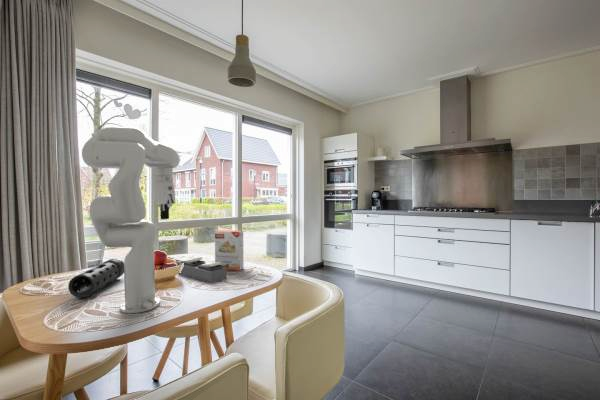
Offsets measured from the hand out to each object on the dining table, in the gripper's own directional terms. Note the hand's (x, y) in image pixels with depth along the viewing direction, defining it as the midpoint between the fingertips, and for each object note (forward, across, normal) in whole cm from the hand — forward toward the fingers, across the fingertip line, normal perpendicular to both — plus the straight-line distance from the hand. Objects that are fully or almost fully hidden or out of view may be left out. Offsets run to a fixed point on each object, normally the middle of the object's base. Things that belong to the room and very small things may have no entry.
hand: (164, 218), depth 132 cm
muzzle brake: (+30, +13, +22) cm, 39 cm away
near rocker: (+23, -15, -14) cm, 31 cm away
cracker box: (+29, -10, -30) cm, 43 cm away
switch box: (+29, -8, -14) cm, 33 cm away
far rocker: (+23, -1, -14) cm, 27 cm away
